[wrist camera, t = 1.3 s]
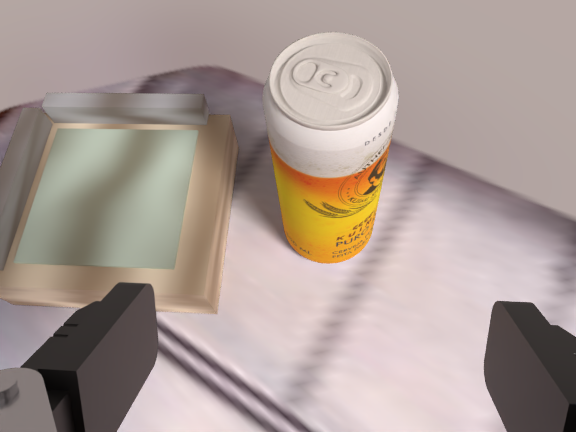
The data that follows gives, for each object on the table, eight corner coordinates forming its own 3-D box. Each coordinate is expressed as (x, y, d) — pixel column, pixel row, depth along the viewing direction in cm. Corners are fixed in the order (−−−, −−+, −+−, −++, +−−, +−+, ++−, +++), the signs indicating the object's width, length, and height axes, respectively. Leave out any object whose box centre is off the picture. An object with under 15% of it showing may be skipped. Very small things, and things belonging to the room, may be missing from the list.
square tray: (239, 144, 38) (225, 94, 33) (217, 314, 32) (196, 285, 27) (64, 141, 39) (25, 92, 34) (13, 304, 34) (-44, 275, 28)
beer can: (351, 282, 33) (370, 155, 19) (269, 246, 34) (234, 106, 21) (384, 207, 35) (422, 48, 22) (306, 177, 37) (297, 11, 23)
